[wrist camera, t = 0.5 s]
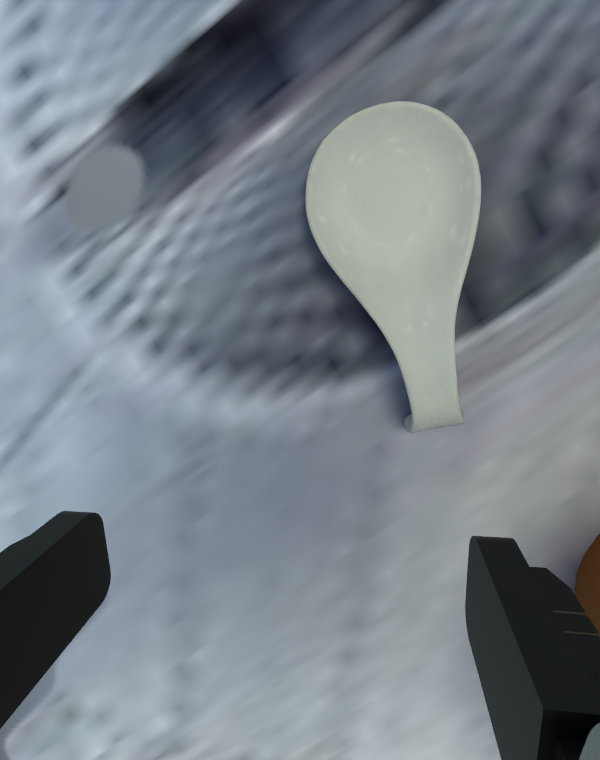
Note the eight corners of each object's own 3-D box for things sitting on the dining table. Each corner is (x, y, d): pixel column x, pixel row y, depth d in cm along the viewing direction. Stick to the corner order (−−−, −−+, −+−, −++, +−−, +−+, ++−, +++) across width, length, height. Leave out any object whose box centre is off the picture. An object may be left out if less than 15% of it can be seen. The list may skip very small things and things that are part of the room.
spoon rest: (294, 149, 34) (274, 115, 27) (450, 93, 31) (473, 41, 24) (367, 434, 38) (366, 469, 31) (510, 405, 35) (544, 435, 29)
